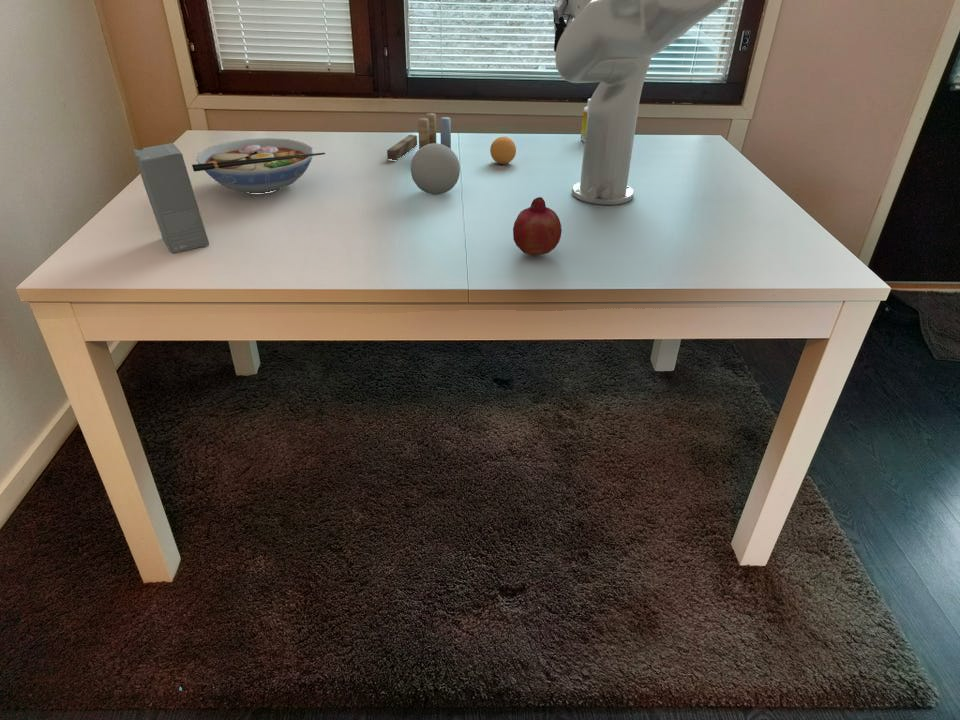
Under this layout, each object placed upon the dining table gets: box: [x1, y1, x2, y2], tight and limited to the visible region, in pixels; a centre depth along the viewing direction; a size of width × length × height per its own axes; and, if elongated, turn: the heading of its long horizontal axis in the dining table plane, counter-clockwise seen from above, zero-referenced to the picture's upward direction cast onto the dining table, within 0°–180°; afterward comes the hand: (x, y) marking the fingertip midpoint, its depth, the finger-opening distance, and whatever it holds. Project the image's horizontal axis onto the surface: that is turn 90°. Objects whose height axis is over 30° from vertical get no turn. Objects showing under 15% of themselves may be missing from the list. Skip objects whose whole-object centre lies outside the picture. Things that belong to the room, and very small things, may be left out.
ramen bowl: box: [191, 137, 326, 194], centre depth 132 cm, size 25×23×8 cm
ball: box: [410, 142, 461, 196], centre depth 130 cm, size 10×10×10 cm
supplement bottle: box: [580, 98, 591, 143], centre depth 165 cm, size 6×6×10 cm
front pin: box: [439, 116, 452, 150], centre depth 151 cm, size 2×2×9 cm
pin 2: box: [425, 112, 437, 144], centre depth 154 cm, size 2×2×9 cm
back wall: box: [386, 134, 418, 161], centre depth 155 cm, size 14×2×2 cm, turn 164°
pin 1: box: [417, 117, 429, 150], centre depth 150 cm, size 2×2×9 cm
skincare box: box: [132, 142, 210, 254], centre depth 107 cm, size 8×7×16 cm
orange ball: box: [489, 136, 517, 165], centre depth 149 cm, size 6×6×6 cm
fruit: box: [512, 196, 563, 256], centre depth 106 cm, size 8×8×10 cm
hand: (572, 49), depth 136 cm, fingers open, 9 cm apart
